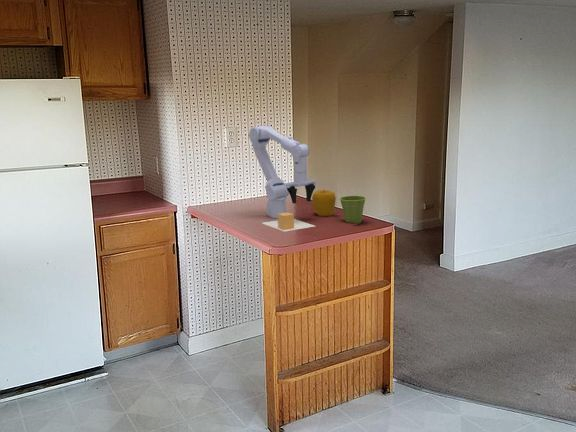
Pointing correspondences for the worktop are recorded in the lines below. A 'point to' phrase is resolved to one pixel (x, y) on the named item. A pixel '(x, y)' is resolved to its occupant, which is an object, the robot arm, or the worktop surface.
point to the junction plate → (297, 225)
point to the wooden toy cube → (285, 221)
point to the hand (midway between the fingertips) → (301, 202)
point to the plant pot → (353, 208)
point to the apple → (324, 202)
